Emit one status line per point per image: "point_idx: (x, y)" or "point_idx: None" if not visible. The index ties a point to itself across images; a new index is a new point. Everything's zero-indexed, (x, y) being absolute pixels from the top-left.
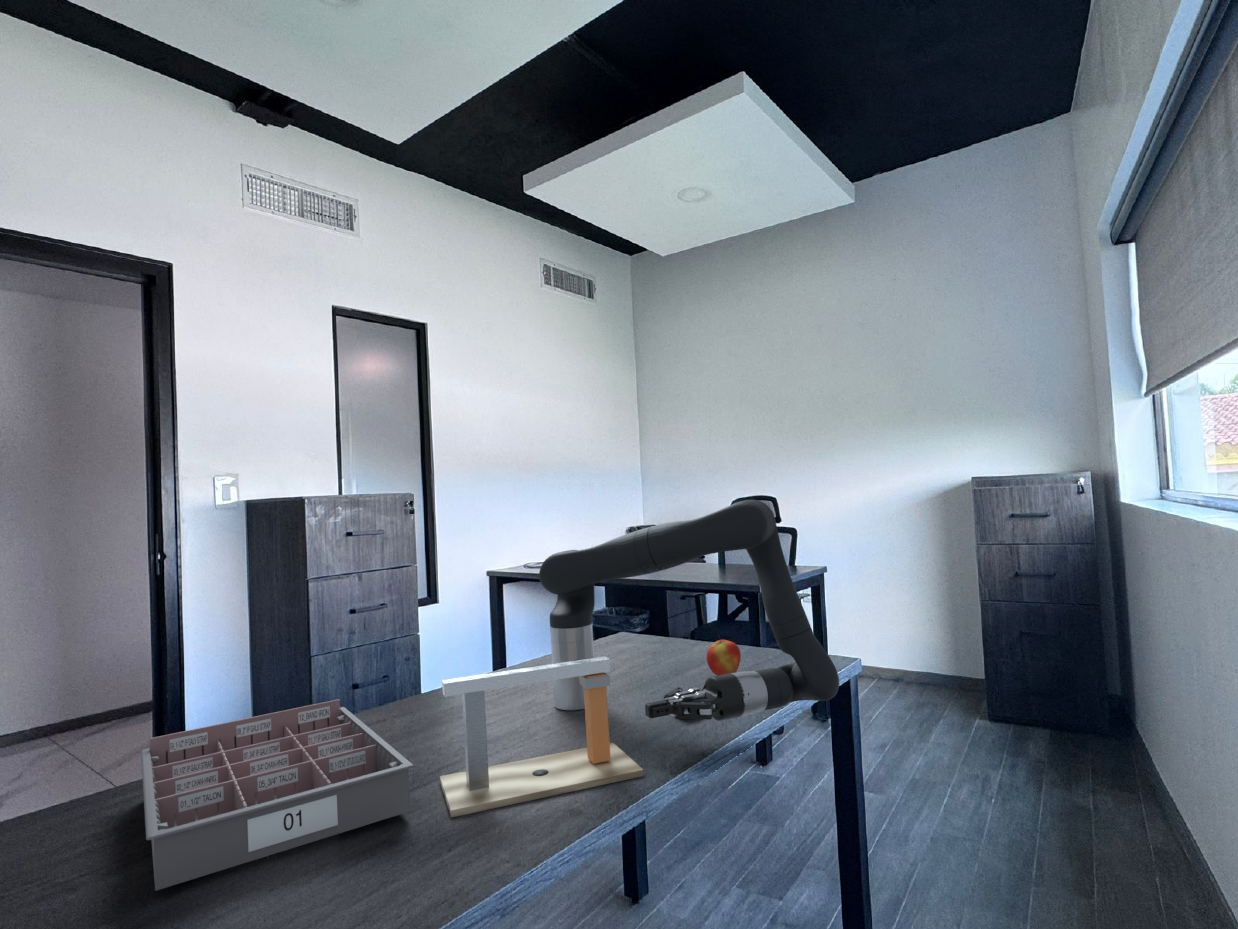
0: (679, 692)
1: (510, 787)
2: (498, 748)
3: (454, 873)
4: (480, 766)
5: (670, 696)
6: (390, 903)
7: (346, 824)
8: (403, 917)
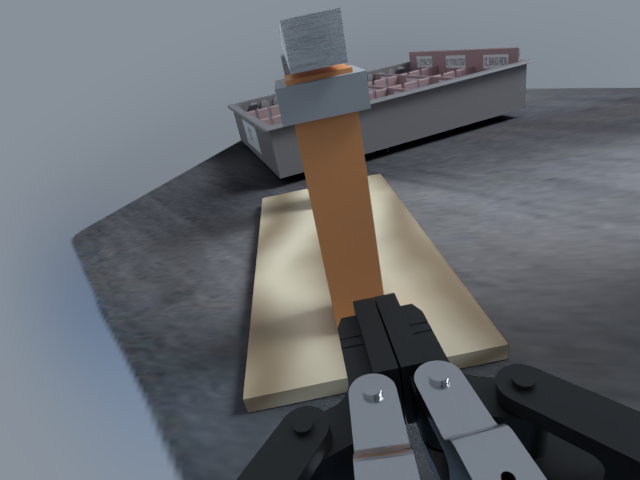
0: (522, 453)
1: (296, 224)
2: (524, 197)
3: (138, 227)
4: None
5: (516, 406)
6: (132, 210)
7: (264, 158)
8: (104, 218)
